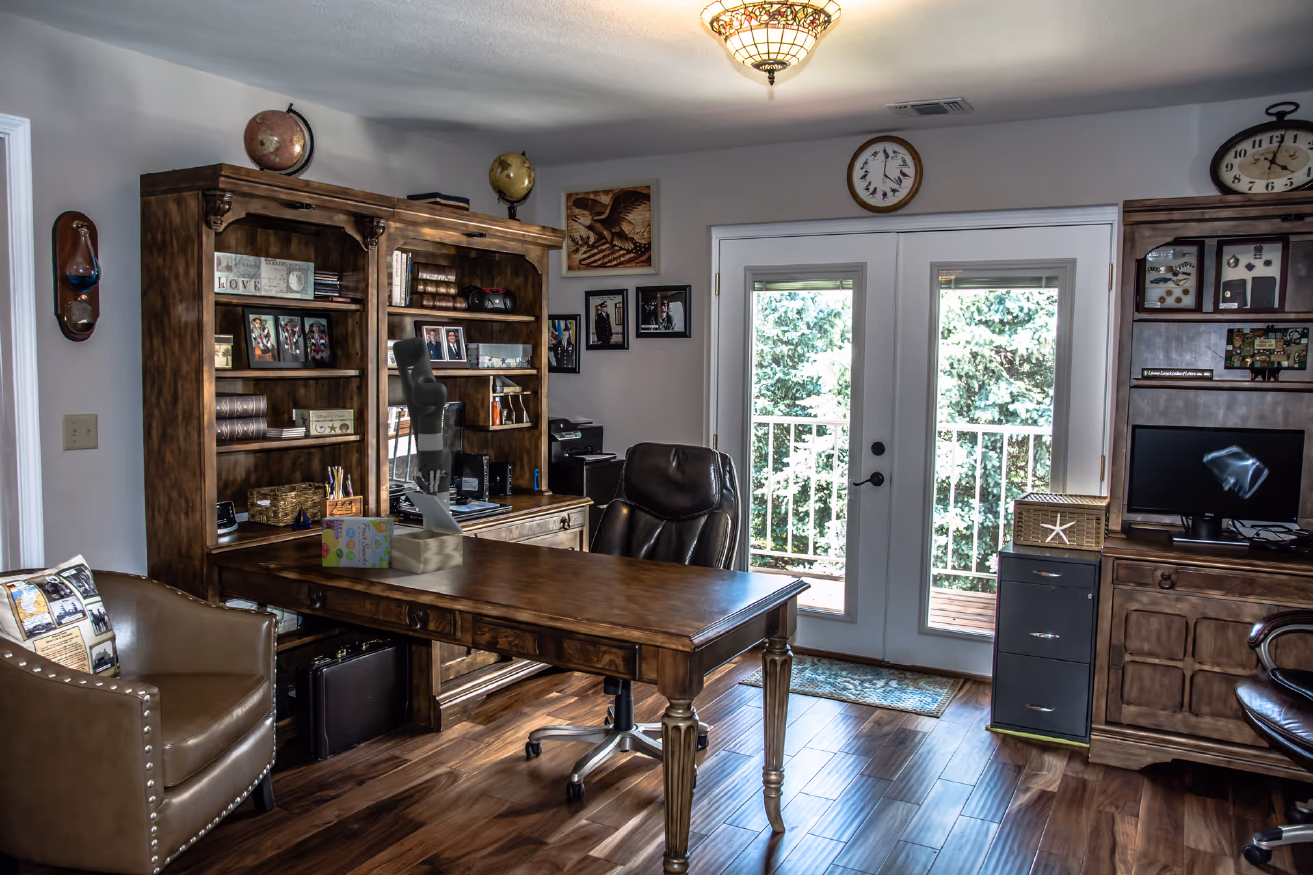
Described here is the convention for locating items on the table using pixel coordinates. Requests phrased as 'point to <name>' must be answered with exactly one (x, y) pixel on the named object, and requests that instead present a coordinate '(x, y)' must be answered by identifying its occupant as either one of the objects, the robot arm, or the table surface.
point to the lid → (435, 512)
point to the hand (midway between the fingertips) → (431, 503)
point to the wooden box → (426, 551)
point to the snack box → (357, 542)
